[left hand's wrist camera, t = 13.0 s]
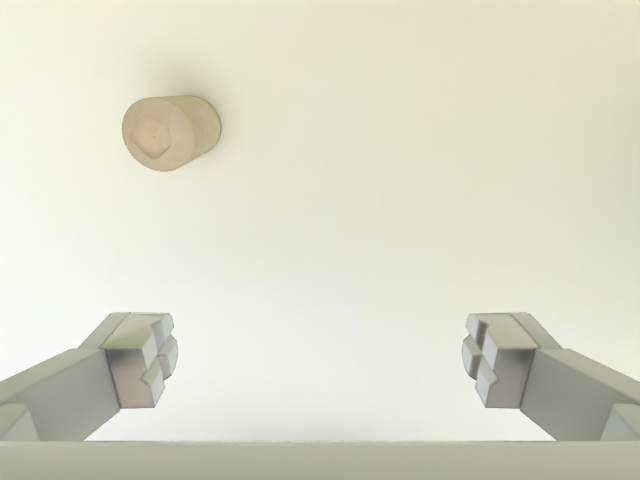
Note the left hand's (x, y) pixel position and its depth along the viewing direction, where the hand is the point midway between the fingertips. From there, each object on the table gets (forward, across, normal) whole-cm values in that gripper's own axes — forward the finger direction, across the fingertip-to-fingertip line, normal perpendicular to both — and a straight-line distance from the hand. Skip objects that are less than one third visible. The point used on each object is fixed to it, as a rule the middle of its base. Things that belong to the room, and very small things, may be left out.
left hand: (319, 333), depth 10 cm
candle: (+30, -12, +3) cm, 32 cm away
